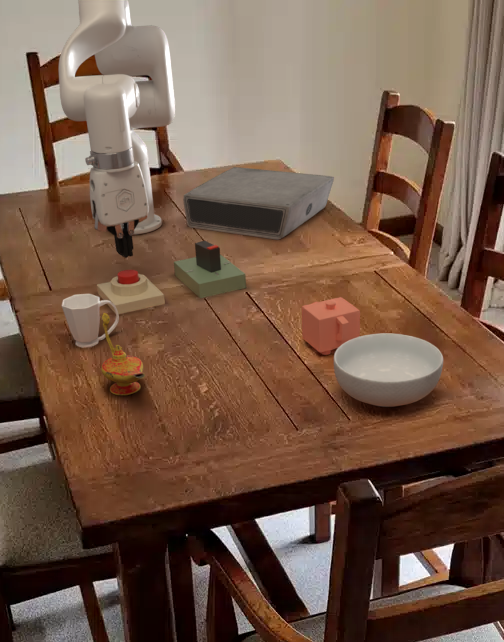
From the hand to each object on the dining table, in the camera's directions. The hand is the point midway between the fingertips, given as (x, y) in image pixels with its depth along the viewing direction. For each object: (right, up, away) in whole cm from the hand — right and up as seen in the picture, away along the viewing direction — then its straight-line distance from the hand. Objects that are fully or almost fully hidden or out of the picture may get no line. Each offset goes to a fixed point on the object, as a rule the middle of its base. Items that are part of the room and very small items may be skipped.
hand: (125, 254), depth 184 cm
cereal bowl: (+46, -31, -32) cm, 64 cm away
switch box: (0, -8, +5) cm, 9 cm away
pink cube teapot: (+38, -20, -16) cm, 46 cm away
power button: (0, -5, +3) cm, 5 cm away
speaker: (+25, +19, +42) cm, 52 cm away
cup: (-4, -19, -10) cm, 22 cm away
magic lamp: (+4, -30, -27) cm, 41 cm away
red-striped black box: (+16, 0, +8) cm, 18 cm away
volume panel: (+16, -3, +10) cm, 19 cm away
